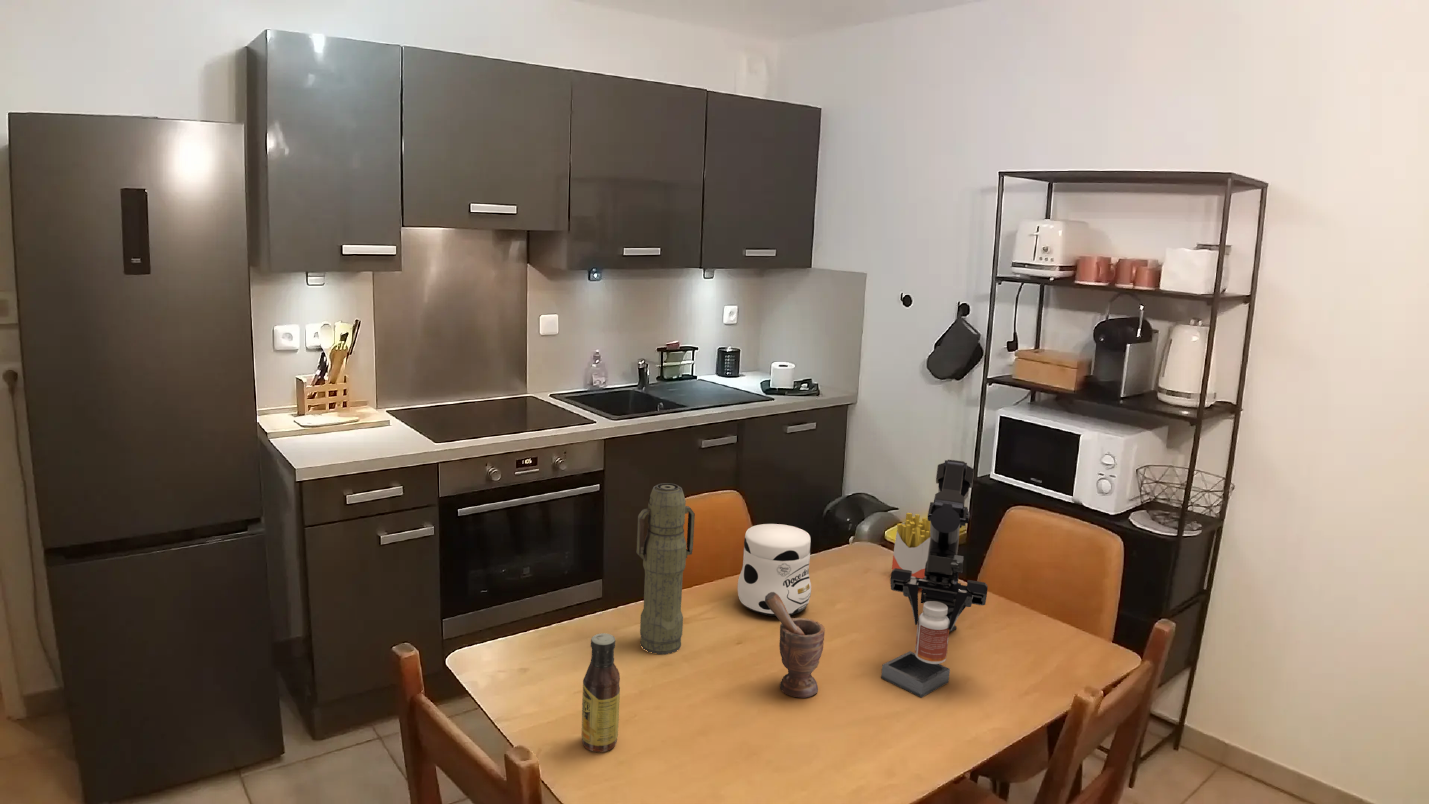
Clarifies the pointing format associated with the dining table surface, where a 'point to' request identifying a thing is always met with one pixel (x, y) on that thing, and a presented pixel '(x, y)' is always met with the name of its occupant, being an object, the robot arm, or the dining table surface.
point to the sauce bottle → (601, 696)
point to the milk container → (775, 568)
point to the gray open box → (915, 674)
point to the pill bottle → (932, 633)
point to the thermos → (664, 567)
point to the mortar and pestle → (797, 649)
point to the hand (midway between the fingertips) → (933, 627)
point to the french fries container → (912, 545)
